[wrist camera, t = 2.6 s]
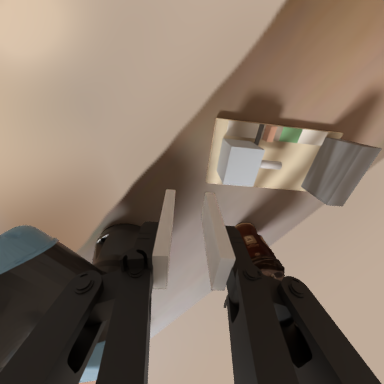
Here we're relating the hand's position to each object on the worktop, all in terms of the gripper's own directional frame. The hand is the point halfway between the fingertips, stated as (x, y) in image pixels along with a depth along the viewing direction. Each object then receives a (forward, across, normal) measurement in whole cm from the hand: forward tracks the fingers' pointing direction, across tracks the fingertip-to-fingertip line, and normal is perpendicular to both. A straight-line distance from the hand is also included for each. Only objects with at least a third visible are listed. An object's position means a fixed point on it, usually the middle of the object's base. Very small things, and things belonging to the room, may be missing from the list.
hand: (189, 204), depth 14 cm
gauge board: (+19, +16, 0) cm, 24 cm away
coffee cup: (+19, +16, -20) cm, 32 cm away
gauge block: (+17, +11, +2) cm, 20 cm away
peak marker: (+17, +13, +5) cm, 22 cm away
